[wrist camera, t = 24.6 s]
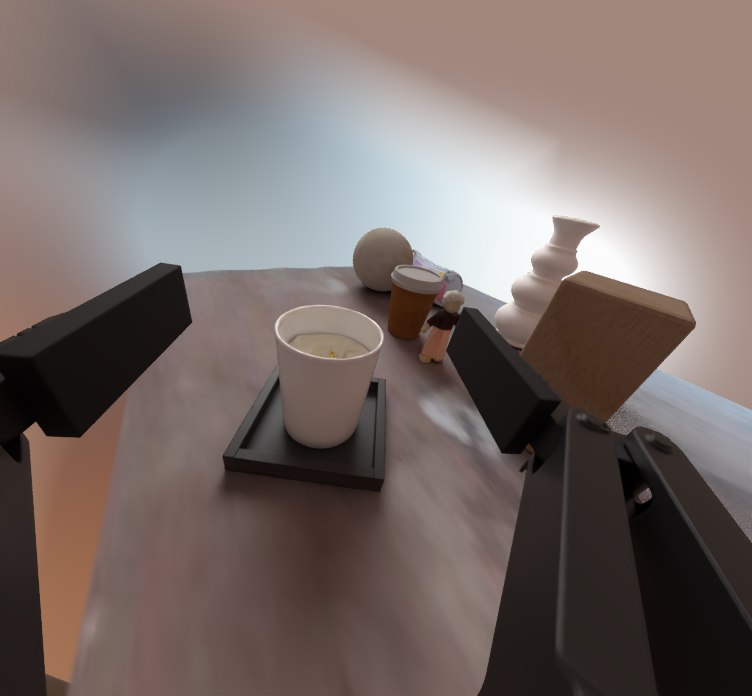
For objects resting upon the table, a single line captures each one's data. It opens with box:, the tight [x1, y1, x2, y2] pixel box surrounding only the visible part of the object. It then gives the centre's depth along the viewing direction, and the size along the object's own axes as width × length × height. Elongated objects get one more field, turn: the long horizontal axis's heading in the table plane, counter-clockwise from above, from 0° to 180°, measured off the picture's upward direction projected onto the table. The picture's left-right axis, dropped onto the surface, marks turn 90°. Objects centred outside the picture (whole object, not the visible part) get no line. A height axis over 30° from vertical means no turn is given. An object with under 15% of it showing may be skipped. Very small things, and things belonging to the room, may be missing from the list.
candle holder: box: [274, 305, 384, 449], centre depth 28 cm, size 10×10×12 cm
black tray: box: [223, 364, 386, 492], centre depth 31 cm, size 14×14×2 cm
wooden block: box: [519, 271, 696, 453], centre depth 32 cm, size 10×10×20 cm
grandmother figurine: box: [419, 290, 464, 363], centre depth 44 cm, size 8×4×13 cm, turn 121°
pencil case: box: [412, 250, 463, 307], centre depth 73 cm, size 21×9×10 cm, turn 23°
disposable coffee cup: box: [388, 265, 443, 339], centre depth 51 cm, size 10×10×12 cm
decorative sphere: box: [353, 228, 413, 291], centre depth 67 cm, size 15×15×15 cm
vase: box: [495, 215, 600, 348], centre depth 53 cm, size 11×11×25 cm
